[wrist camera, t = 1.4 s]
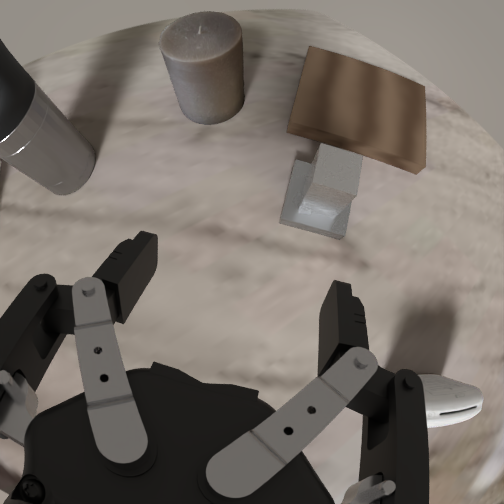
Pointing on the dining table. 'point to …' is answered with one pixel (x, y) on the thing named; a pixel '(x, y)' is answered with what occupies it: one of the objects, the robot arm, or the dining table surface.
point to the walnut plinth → (361, 110)
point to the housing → (322, 192)
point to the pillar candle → (205, 65)
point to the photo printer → (449, 400)
